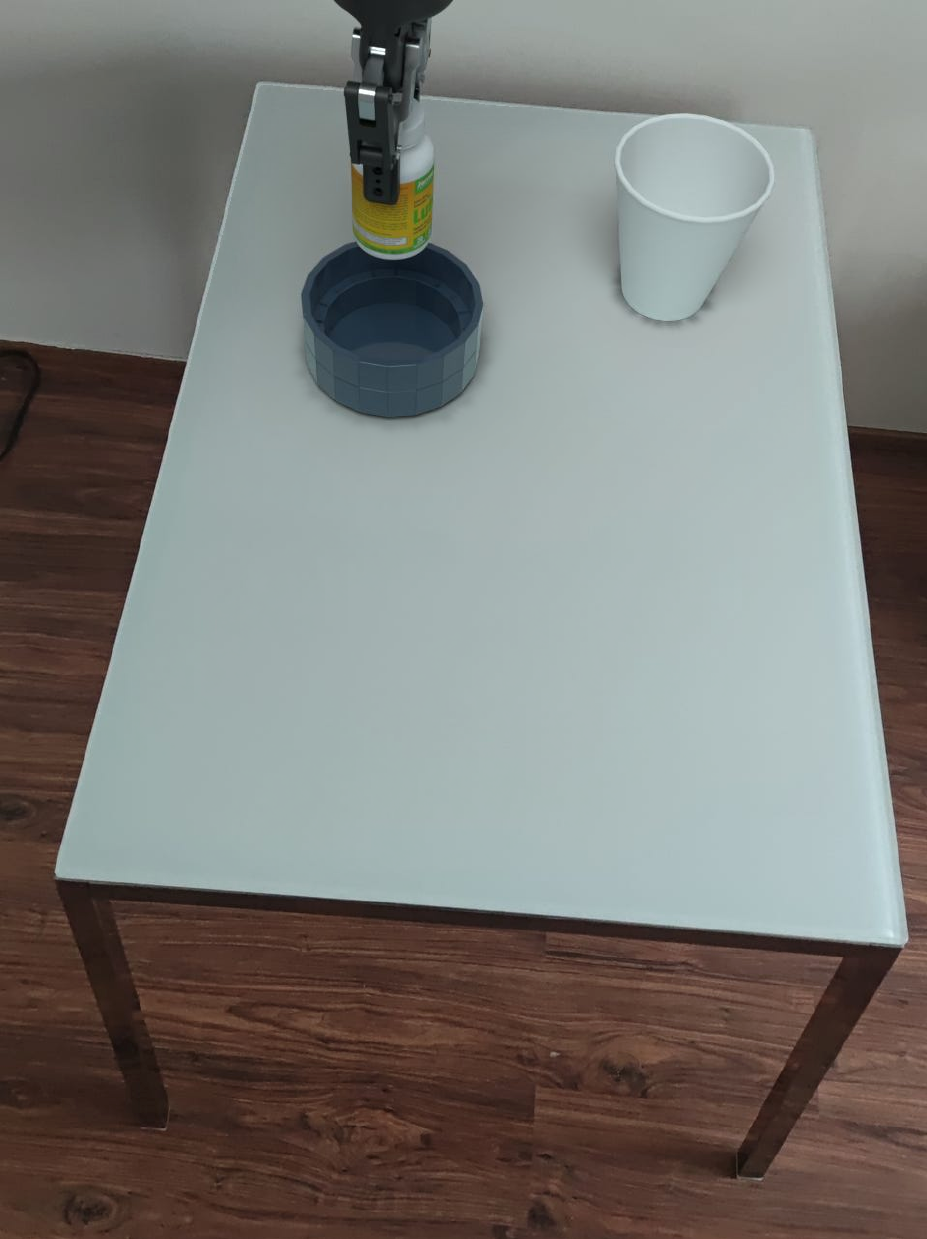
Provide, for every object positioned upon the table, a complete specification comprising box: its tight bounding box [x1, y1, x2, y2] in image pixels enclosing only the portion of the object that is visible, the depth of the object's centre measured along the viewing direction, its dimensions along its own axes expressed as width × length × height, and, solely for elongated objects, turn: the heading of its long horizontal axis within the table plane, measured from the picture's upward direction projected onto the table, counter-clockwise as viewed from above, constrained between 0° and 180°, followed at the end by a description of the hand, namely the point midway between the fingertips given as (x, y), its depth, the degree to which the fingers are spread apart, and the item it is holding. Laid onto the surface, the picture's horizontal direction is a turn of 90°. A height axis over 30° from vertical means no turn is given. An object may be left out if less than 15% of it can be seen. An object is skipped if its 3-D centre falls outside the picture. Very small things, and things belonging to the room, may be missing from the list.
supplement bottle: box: [350, 93, 436, 260], centre depth 79 cm, size 5×5×10 cm
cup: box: [613, 112, 776, 322], centre depth 94 cm, size 12×12×12 cm
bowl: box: [300, 240, 484, 418], centre depth 92 cm, size 13×13×6 cm
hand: (391, 168), depth 79 cm, fingers closed on supplement bottle, 5 cm apart
